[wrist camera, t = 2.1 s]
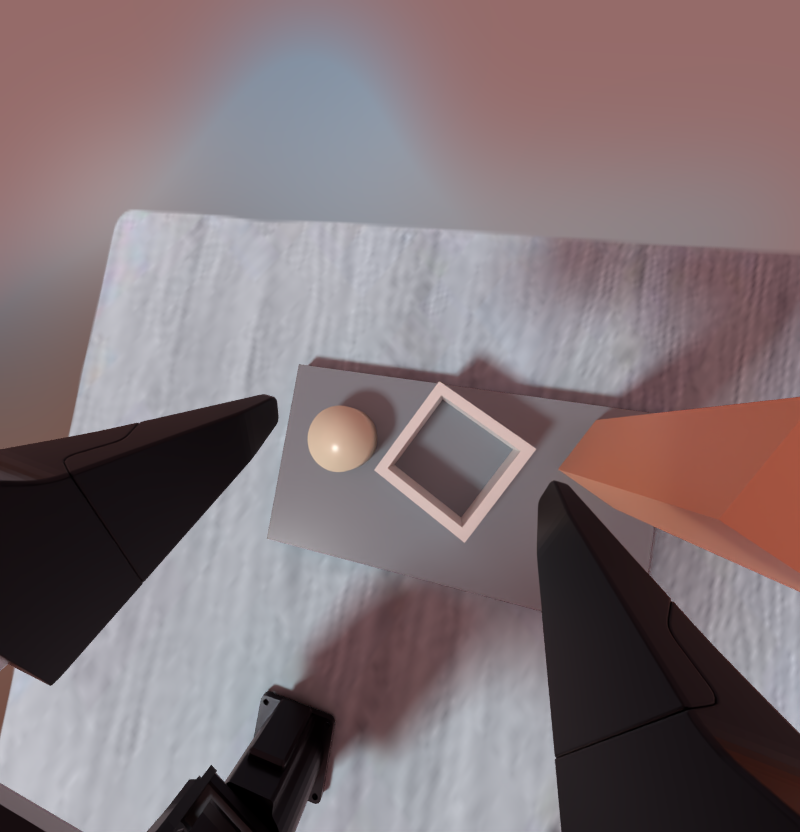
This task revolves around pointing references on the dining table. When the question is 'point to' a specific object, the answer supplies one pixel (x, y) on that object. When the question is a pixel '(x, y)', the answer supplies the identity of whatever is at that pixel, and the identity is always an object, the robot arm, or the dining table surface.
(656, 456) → the orange square prism
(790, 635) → the dining table surface
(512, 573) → the board
